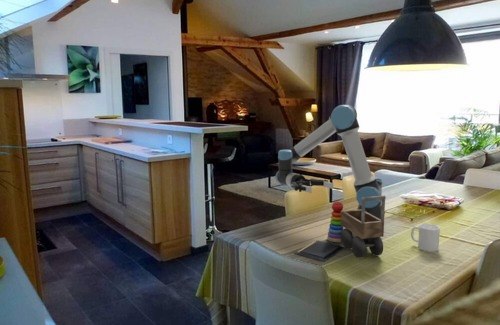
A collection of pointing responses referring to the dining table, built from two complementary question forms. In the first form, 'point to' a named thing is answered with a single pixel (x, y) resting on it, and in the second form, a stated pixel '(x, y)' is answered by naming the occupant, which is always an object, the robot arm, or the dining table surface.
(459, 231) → the dining table surface
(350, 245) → the trolley
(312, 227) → the dining table surface
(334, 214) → the stacking toy
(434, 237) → the cup
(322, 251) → the dark navy book
